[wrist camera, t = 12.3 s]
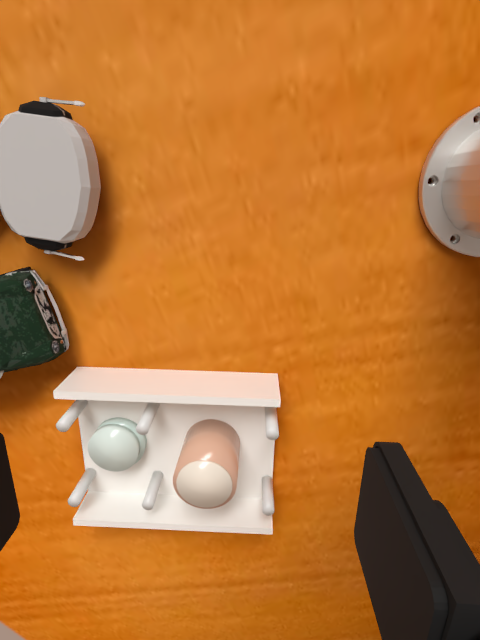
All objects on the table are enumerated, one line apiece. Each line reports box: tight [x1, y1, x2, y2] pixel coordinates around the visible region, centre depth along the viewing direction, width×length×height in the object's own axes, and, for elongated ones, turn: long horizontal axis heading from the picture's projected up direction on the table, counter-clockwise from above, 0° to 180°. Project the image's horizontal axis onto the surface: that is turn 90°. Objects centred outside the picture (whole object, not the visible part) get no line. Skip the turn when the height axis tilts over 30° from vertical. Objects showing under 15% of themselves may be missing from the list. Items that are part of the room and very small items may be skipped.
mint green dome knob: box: [88, 417, 147, 472], centre depth 41 cm, size 6×6×2 cm
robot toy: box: [0, 97, 101, 261], centre depth 33 cm, size 12×4×15 cm
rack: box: [53, 367, 281, 534], centre depth 40 cm, size 21×16×6 cm
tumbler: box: [173, 419, 240, 509], centre depth 39 cm, size 6×6×6 cm
